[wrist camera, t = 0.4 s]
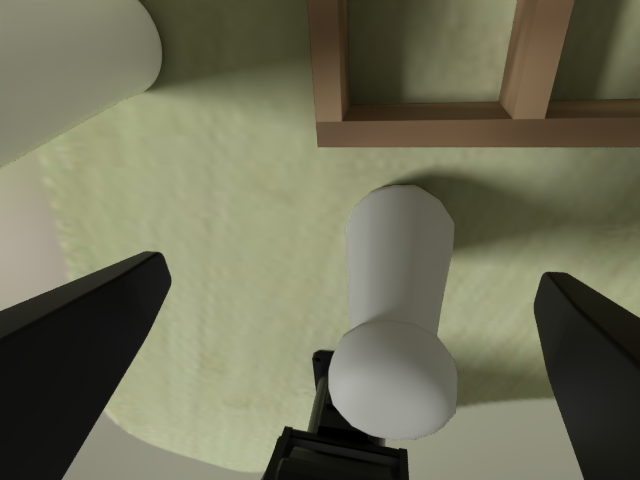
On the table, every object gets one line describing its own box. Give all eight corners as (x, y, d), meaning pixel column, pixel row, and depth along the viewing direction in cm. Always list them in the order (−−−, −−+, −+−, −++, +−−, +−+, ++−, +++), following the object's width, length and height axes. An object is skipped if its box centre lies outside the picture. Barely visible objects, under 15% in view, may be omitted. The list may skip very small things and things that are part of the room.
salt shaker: (462, 176, 20) (520, 377, 10) (438, 260, 24) (463, 480, 13) (355, 163, 21) (302, 337, 11) (346, 246, 24) (299, 443, 14)
